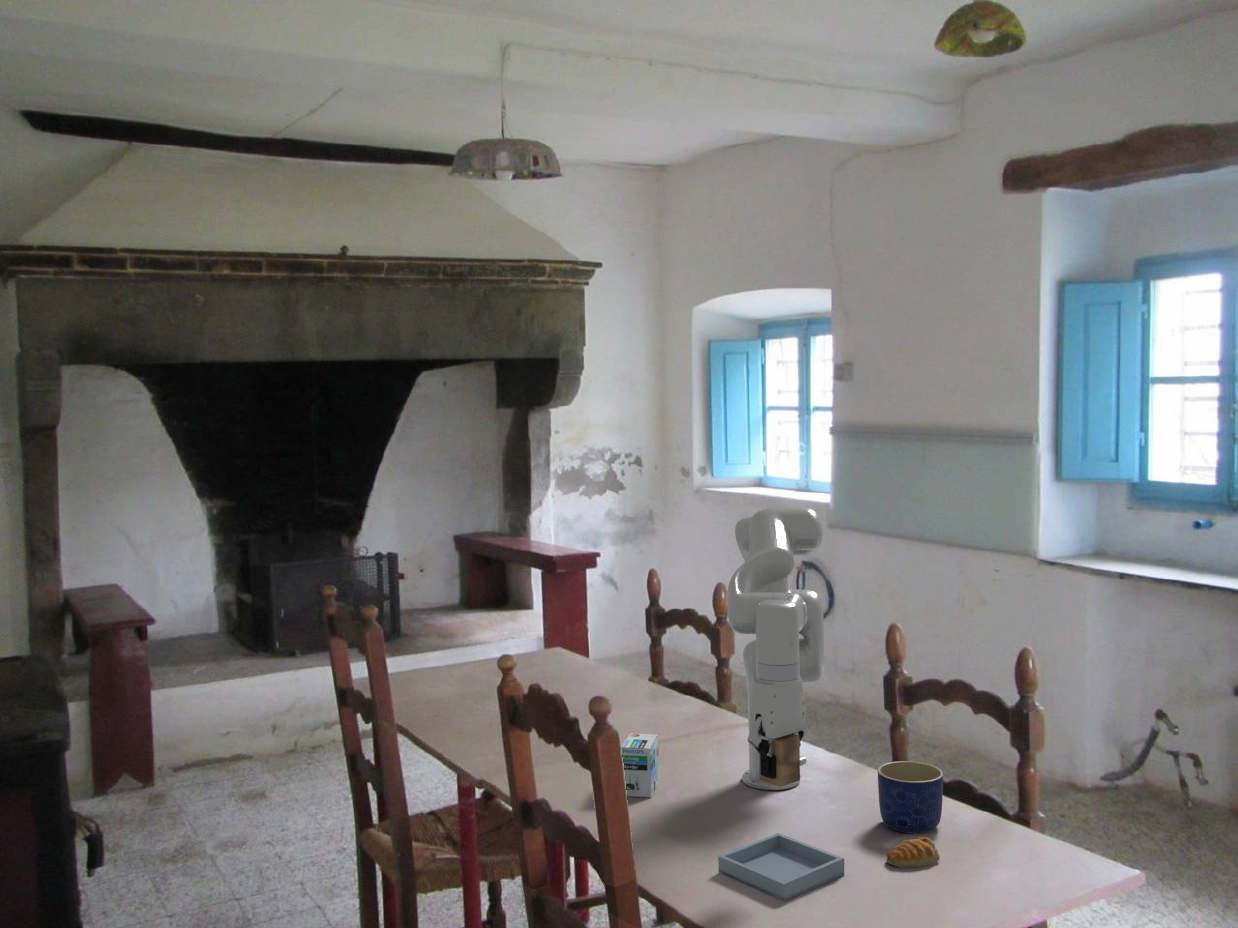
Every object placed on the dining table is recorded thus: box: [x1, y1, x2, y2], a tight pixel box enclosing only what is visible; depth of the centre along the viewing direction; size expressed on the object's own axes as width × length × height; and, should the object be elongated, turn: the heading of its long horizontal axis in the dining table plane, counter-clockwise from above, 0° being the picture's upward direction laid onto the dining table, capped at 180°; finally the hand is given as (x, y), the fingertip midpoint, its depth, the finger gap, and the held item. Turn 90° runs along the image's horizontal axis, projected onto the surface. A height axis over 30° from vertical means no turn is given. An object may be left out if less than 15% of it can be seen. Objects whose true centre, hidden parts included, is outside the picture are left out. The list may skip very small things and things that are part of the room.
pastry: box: [886, 836, 941, 869], centre depth 201 cm, size 9×7×4 cm
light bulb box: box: [620, 732, 660, 798], centre depth 242 cm, size 11×7×11 cm, turn 168°
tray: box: [717, 832, 845, 903], centre depth 197 cm, size 16×16×3 cm
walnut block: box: [759, 734, 801, 787], centre depth 196 cm, size 5×5×8 cm
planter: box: [877, 760, 944, 834], centre depth 217 cm, size 12×12×11 cm
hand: (779, 771), depth 196 cm, fingers closed on walnut block, 5 cm apart
